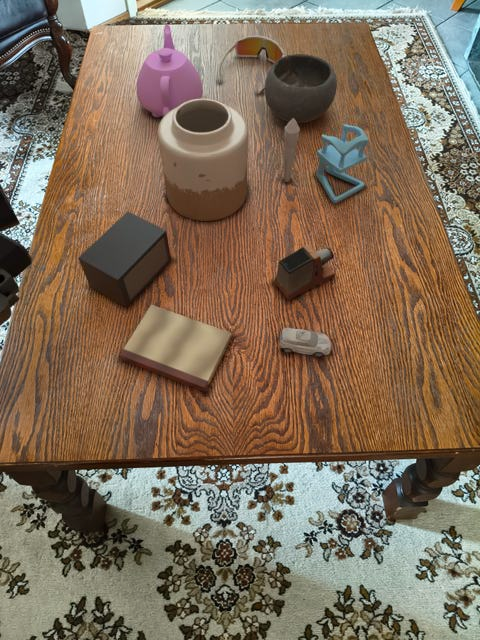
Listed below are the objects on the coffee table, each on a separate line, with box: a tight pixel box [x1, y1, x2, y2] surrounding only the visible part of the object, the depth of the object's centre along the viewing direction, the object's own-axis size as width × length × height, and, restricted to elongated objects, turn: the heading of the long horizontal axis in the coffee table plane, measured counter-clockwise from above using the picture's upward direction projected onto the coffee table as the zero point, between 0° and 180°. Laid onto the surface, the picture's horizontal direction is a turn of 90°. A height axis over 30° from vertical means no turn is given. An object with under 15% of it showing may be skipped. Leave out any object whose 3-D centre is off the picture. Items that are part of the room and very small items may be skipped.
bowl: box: [264, 53, 338, 124], centre depth 106 cm, size 15×15×10 cm
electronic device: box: [274, 243, 336, 301], centre depth 82 cm, size 4×10×8 cm, turn 121°
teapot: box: [136, 24, 204, 118], centre depth 107 cm, size 20×14×12 cm
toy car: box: [279, 327, 332, 358], centre depth 77 cm, size 4×8×3 cm, turn 82°
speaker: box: [77, 211, 172, 309], centre depth 83 cm, size 12×8×8 cm
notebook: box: [118, 304, 233, 393], centre depth 77 cm, size 14×10×2 cm
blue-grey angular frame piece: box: [315, 123, 370, 204], centre depth 93 cm, size 8×8×12 cm
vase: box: [157, 98, 249, 222], centre depth 90 cm, size 15×15×17 cm
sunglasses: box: [218, 34, 286, 95], centre depth 118 cm, size 14×15×5 cm
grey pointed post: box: [283, 118, 301, 183], centre depth 93 cm, size 2×3×14 cm
